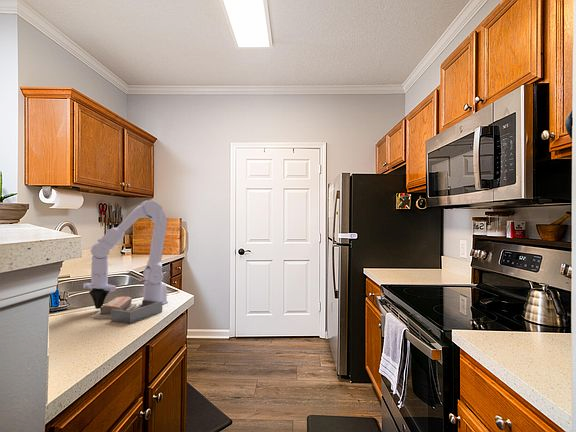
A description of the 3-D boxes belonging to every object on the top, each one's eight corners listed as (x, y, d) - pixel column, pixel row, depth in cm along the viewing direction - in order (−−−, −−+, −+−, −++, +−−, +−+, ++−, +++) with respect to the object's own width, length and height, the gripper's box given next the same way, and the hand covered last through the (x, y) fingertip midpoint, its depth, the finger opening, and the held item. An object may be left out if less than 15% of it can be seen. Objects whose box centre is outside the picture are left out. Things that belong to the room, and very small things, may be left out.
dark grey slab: (144, 309, 143) (144, 299, 143) (162, 311, 140) (162, 301, 140) (110, 321, 127) (111, 309, 127) (129, 323, 124) (130, 312, 124)
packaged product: (111, 295, 148) (136, 295, 149) (111, 307, 148) (136, 307, 149) (92, 306, 130) (121, 306, 131) (92, 319, 130) (120, 319, 131)
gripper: (76, 273, 139) (75, 308, 139) (105, 276, 134) (105, 312, 134) (92, 271, 145) (91, 304, 145) (120, 273, 141) (119, 308, 141)
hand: (98, 308), depth 140 cm, fingers closed
